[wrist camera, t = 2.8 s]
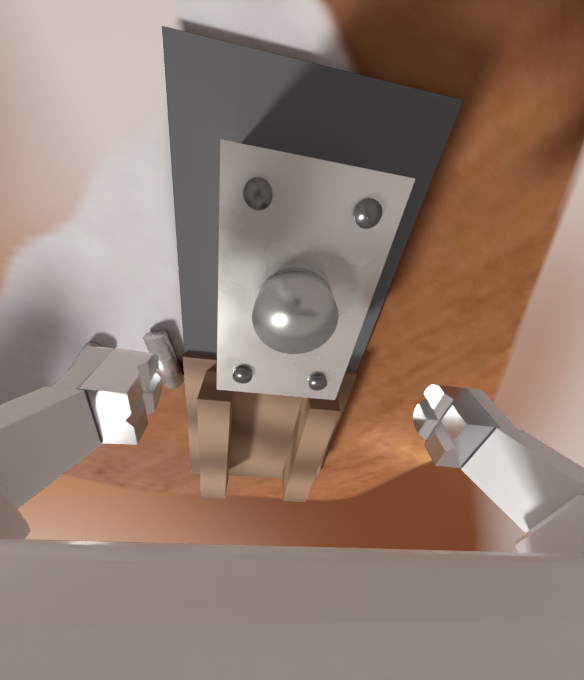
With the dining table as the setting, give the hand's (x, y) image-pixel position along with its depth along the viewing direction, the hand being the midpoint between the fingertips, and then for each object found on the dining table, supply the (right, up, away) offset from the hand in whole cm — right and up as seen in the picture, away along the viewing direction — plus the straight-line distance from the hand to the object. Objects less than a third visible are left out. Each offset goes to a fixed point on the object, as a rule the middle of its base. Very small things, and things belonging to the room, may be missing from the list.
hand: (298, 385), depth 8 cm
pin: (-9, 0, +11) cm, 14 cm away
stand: (-3, -6, +15) cm, 16 cm away
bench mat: (0, +6, +7) cm, 9 cm away
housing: (0, +6, +7) cm, 9 cm away
